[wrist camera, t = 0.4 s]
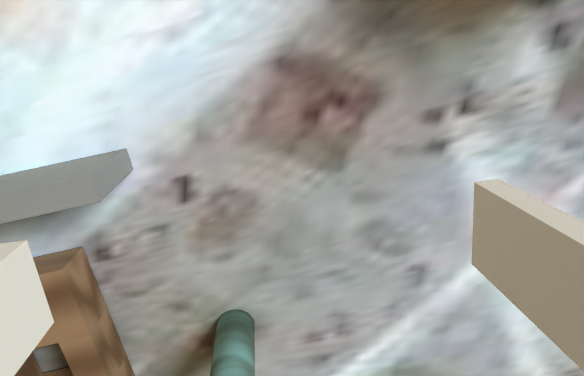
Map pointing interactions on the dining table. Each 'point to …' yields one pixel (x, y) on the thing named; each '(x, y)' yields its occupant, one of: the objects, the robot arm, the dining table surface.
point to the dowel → (234, 345)
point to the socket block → (77, 320)
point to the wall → (61, 185)
